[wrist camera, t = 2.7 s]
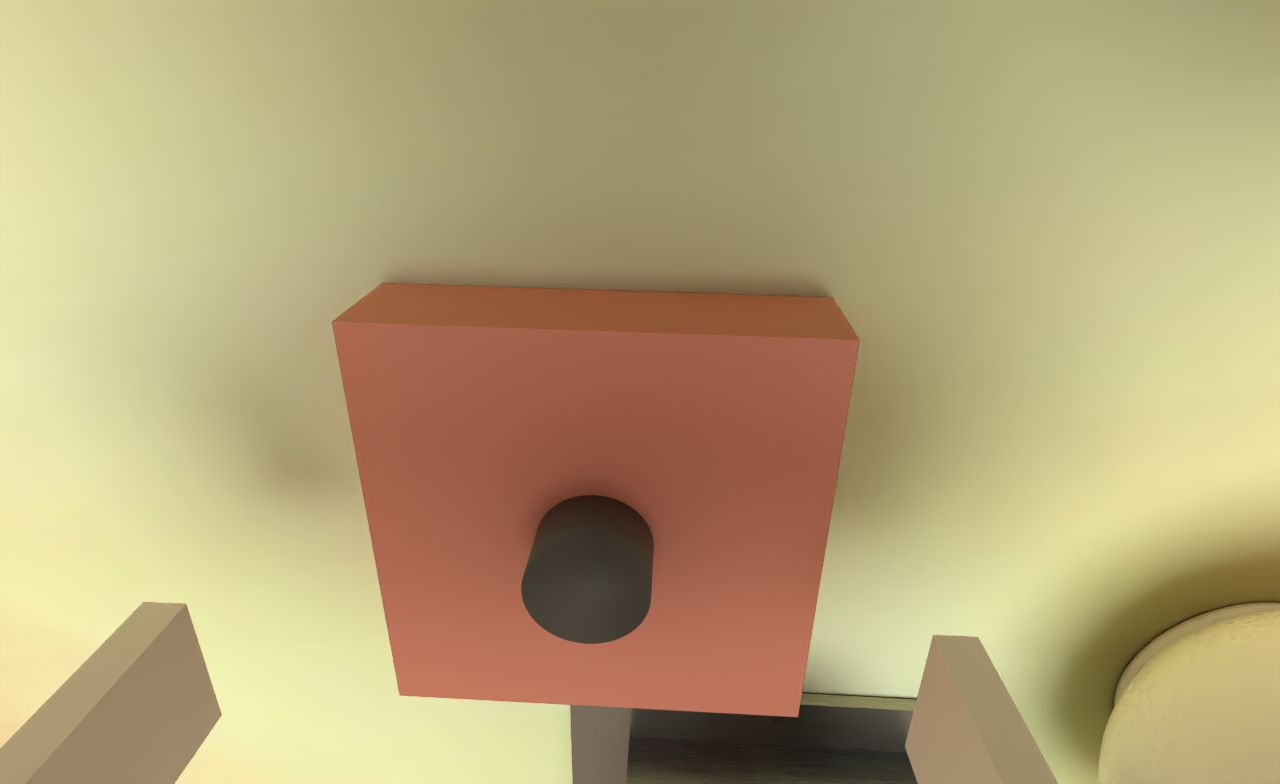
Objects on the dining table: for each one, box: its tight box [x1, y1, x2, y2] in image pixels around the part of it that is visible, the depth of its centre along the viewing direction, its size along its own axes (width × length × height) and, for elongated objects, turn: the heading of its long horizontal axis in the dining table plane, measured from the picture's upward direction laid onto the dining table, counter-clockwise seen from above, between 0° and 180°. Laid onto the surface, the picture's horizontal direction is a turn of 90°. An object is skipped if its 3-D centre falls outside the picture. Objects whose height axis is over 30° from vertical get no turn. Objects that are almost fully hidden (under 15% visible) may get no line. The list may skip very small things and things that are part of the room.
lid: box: [332, 283, 859, 717], centre depth 16 cm, size 10×10×5 cm
